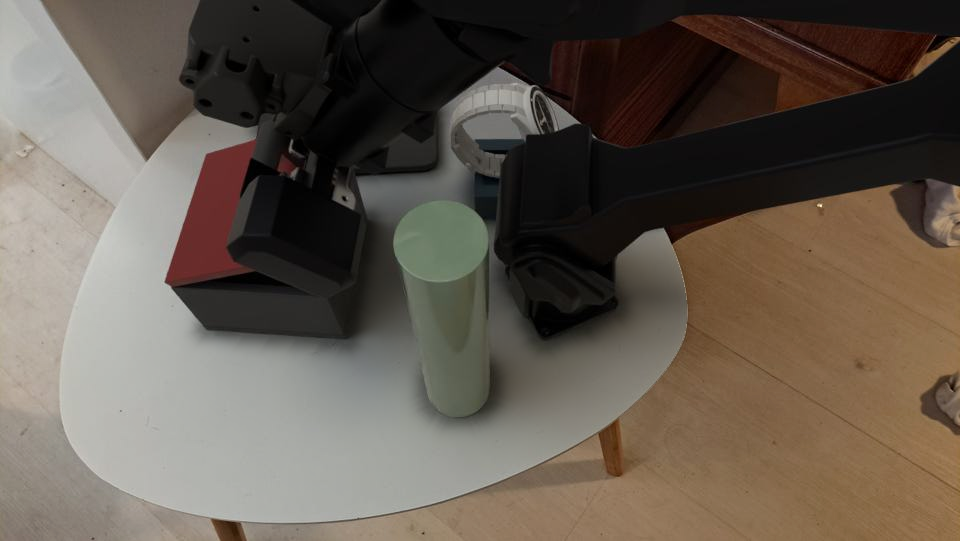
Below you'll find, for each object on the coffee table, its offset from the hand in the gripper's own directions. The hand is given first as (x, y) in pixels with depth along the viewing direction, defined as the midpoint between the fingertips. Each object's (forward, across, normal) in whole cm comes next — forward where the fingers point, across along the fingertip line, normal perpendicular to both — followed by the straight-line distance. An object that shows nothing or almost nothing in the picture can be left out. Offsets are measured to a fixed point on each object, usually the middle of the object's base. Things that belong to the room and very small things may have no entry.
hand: (255, 184), depth 45 cm
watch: (-2, -9, +19) cm, 21 cm away
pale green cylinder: (0, +8, +17) cm, 19 cm away
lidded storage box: (+9, 0, +7) cm, 12 cm away
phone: (+7, -13, +9) cm, 17 cm away
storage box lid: (+2, 0, +1) cm, 2 cm away
